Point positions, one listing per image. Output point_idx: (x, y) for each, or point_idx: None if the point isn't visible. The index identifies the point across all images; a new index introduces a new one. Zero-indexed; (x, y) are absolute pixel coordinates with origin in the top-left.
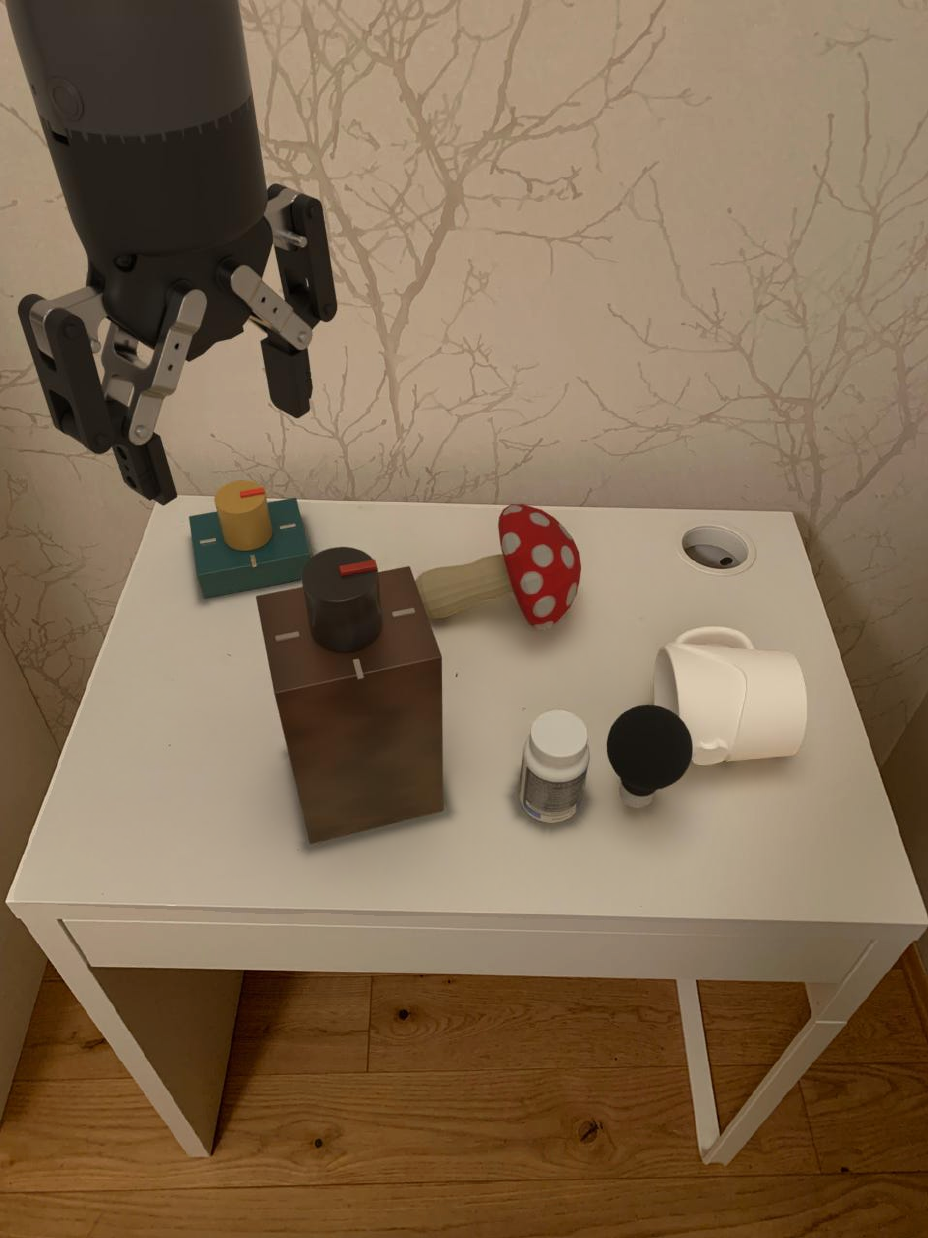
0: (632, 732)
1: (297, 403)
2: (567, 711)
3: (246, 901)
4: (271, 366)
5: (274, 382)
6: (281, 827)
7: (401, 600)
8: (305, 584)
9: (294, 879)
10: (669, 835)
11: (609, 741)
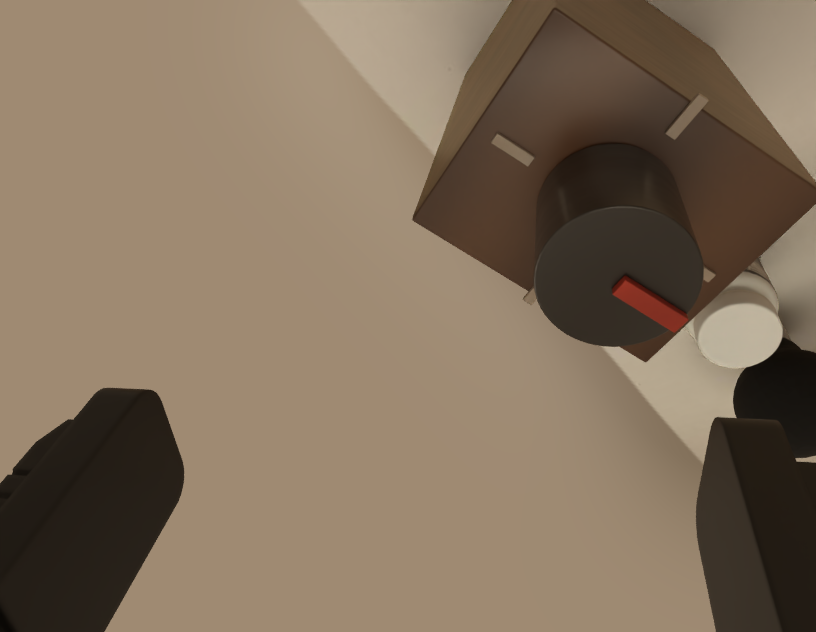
0: (780, 418)
1: (707, 571)
2: (781, 328)
3: (361, 73)
4: (753, 598)
5: (736, 527)
6: (456, 25)
7: (723, 242)
8: (545, 251)
9: (419, 96)
10: (736, 373)
11: (767, 376)
